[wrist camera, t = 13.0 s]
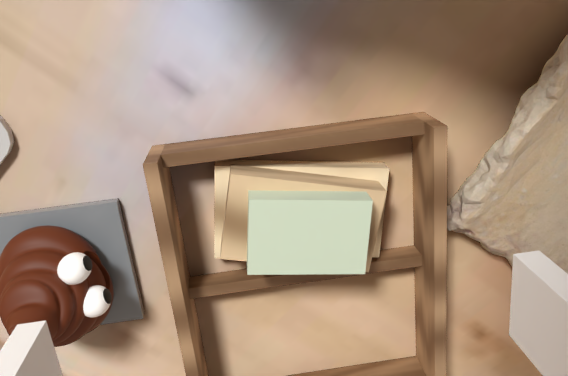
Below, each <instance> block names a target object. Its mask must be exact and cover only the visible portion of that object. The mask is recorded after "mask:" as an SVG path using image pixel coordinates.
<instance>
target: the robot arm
mask: <svg viewBox="0 0 568 376" xmlns="http://www.w3.org/2000/svg"><path fill="white" fill-rule="evenodd" d="M509 336H510V337H511V338H512V339H513V340H514V342H515V343H516V344H517V345H518V346H519V348H520V349H521V350H522V351H523V352H524V354H525V355H526V356H527V357H528V358H529V360H530V361H531V362H532V363H533V364H534V366H535V367H536V368H537V369H538V370H539V372H540V373H541V374H542V375H543V376H568V274H567V273H566V272H565V271H564V270H563V269H561V268H560V267H559V266H558V265H556V264H555V263H554V262H553V261H552V260H550V259H549V258H548V257H547V256H545V255H544V254H543V253H542V252H541V251H539V250H538V251H531V252H524V253H517V254H513V268H512V287H511V306H510V324H509ZM0 376H63V374H62V371H61V368H60V364H59V361H58V358H57V355H56V351H55V348H54V345H53V342H52V338H51V335H50V332H49V328H48V325H47V322H46V321H39V322H32V323H24V324H17V326H16V327H15V329H14V330H13V332H12V333H11V335H10V337H9V338H8V340H7V341H6V343H5V344H4V346H3V348H2V349H1V351H0Z"/></svg>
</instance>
